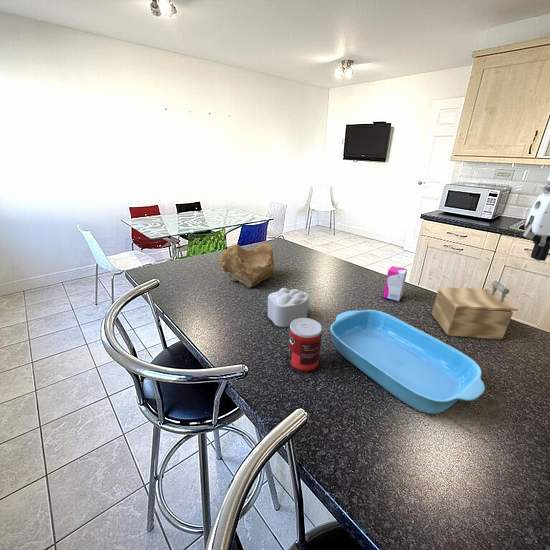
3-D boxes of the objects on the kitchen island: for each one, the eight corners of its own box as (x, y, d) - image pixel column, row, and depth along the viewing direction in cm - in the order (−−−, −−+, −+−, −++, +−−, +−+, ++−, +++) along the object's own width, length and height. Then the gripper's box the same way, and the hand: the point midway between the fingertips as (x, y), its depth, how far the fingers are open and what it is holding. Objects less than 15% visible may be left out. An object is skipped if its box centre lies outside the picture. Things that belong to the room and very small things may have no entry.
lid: (491, 291, 94) (496, 276, 92) (517, 311, 83) (523, 294, 81) (438, 289, 96) (441, 274, 94) (456, 308, 84) (460, 292, 82)
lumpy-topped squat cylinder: (264, 313, 97) (264, 289, 94) (297, 304, 103) (298, 282, 100) (279, 329, 89) (280, 304, 86) (314, 319, 95) (316, 295, 91)
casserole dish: (493, 394, 67) (504, 370, 64) (444, 446, 55) (454, 418, 52) (364, 321, 94) (367, 301, 91) (312, 344, 82) (314, 323, 79)
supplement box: (402, 296, 111) (408, 268, 106) (398, 302, 106) (405, 273, 102) (386, 292, 114) (391, 265, 109) (382, 298, 109) (387, 269, 105)
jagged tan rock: (232, 297, 109) (233, 261, 102) (216, 278, 121) (216, 244, 114) (284, 286, 120) (289, 253, 113) (265, 269, 133) (268, 238, 126)
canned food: (296, 348, 80) (298, 314, 76) (323, 359, 77) (327, 323, 72) (282, 364, 74) (284, 328, 70) (311, 376, 71) (314, 339, 66)
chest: (479, 317, 98) (488, 292, 94) (502, 339, 87) (513, 312, 83) (431, 313, 99) (438, 289, 96) (447, 335, 88) (455, 308, 84)
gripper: (542, 191, 70) (517, 262, 77) (611, 192, 68) (578, 265, 76) (521, 187, 77) (500, 253, 84) (583, 188, 75) (556, 255, 82)
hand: (537, 259), depth 80 cm, fingers closed
